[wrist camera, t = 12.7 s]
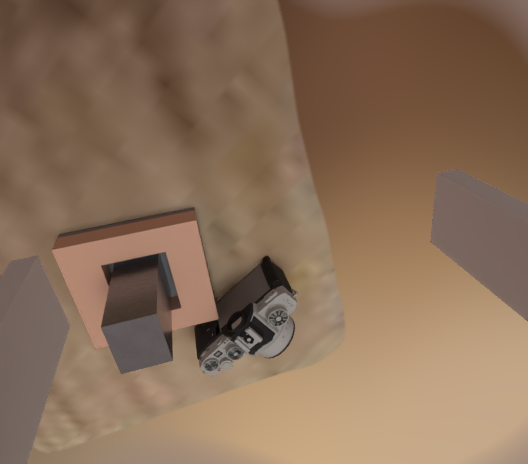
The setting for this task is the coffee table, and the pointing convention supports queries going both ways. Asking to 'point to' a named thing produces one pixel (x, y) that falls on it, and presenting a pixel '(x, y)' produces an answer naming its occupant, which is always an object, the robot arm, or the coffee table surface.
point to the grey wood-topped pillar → (139, 314)
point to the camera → (248, 320)
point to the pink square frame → (134, 246)
